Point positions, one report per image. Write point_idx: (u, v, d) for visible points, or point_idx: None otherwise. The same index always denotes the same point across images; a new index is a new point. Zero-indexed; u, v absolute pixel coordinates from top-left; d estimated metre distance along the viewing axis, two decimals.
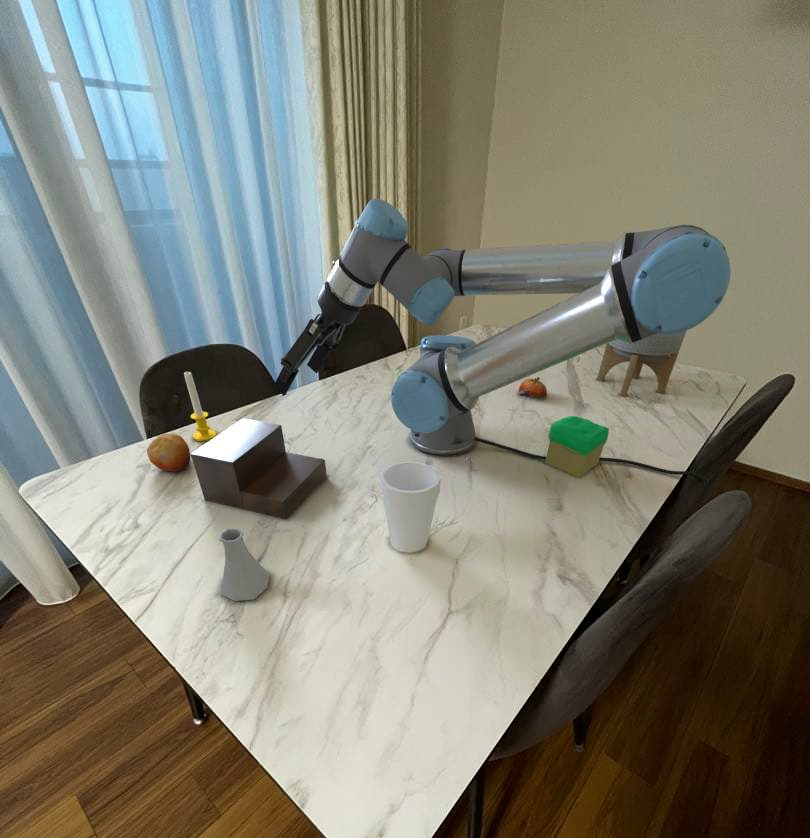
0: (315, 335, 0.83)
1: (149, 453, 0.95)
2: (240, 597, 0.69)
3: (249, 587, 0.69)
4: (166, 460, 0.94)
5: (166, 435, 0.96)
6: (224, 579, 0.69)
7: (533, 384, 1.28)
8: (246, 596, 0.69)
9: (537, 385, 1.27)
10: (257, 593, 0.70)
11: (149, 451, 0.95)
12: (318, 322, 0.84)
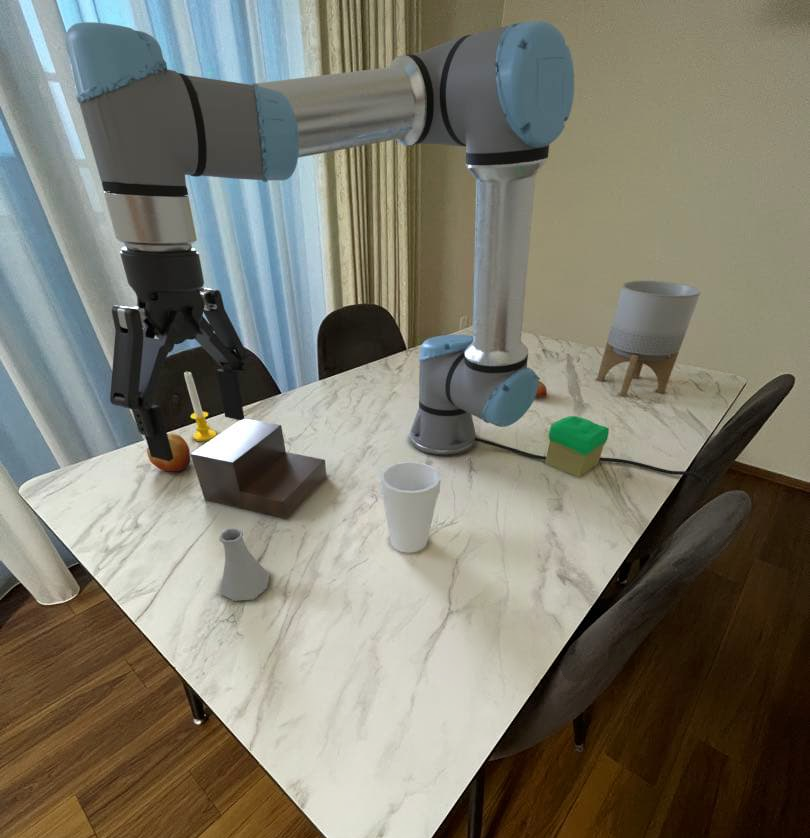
0: (130, 326, 0.47)
1: (149, 453, 0.95)
2: (240, 597, 0.69)
3: (249, 587, 0.69)
4: None
5: None
6: (224, 579, 0.69)
7: None
8: (246, 596, 0.69)
9: None
10: (257, 593, 0.70)
11: (149, 451, 0.95)
12: (133, 307, 0.48)
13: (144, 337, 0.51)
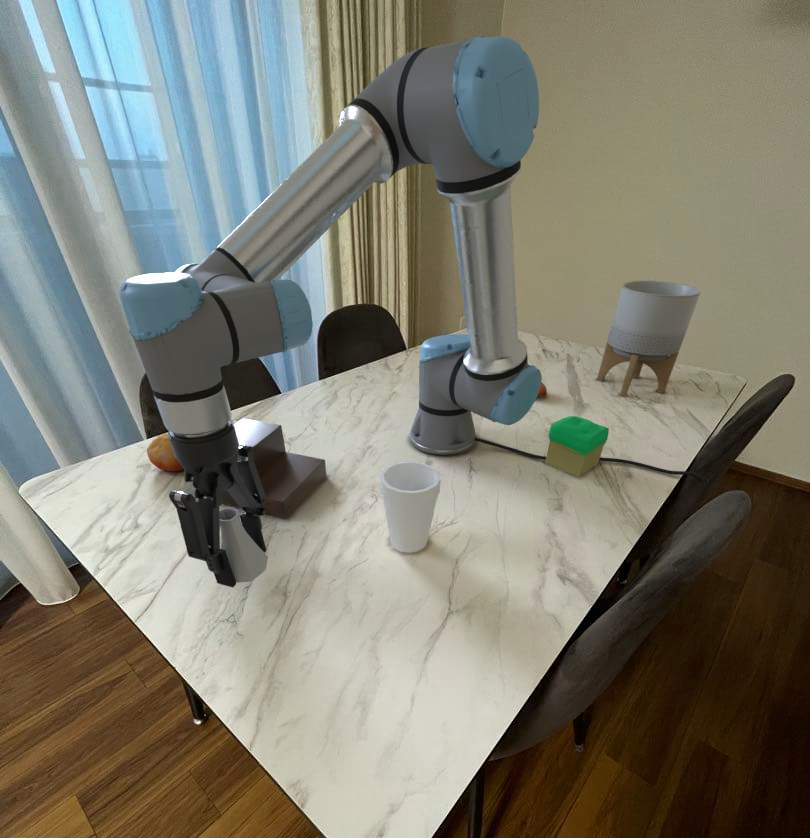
0: (188, 508, 0.55)
1: (149, 453, 0.95)
2: (238, 579, 0.67)
3: (246, 569, 0.67)
4: (166, 460, 0.94)
5: (166, 435, 0.96)
6: None
7: None
8: (244, 578, 0.67)
9: None
10: (255, 575, 0.68)
11: (149, 451, 0.95)
12: (183, 487, 0.56)
13: None
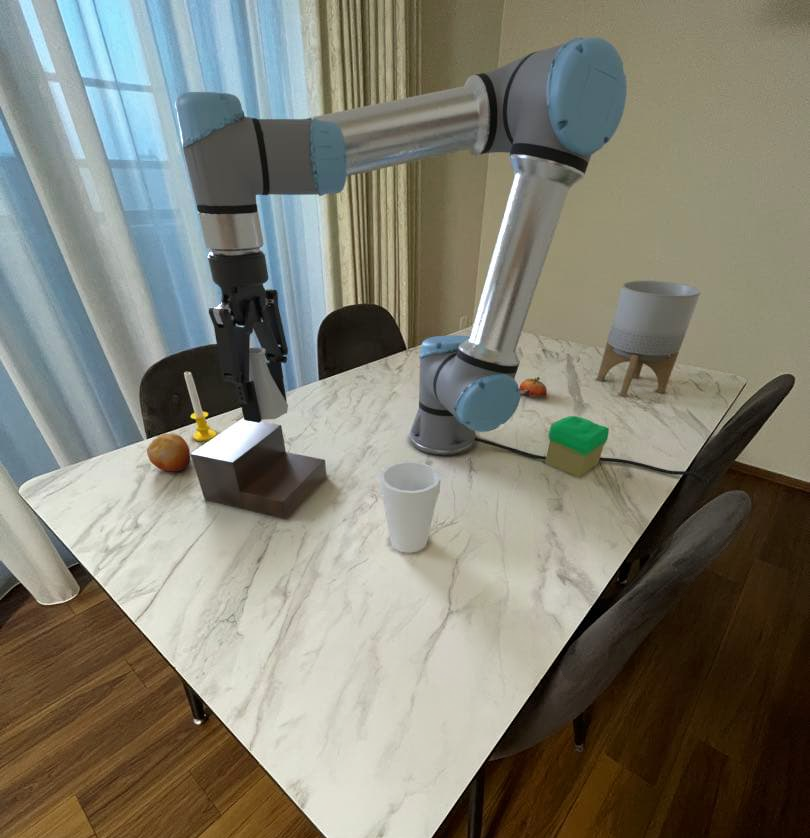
0: (225, 323, 0.63)
1: (149, 453, 0.95)
2: (262, 416, 0.75)
3: (270, 406, 0.75)
4: (166, 460, 0.94)
5: (166, 435, 0.96)
6: None
7: (533, 384, 1.28)
8: (268, 416, 0.75)
9: (537, 385, 1.27)
10: (278, 414, 0.76)
11: (149, 451, 0.95)
12: (221, 305, 0.63)
13: None
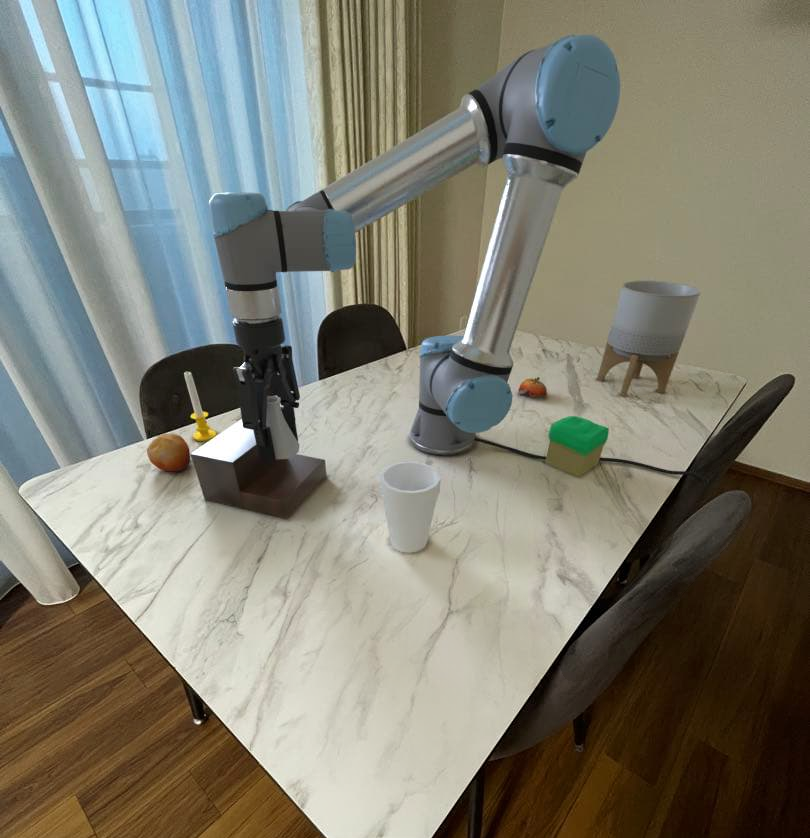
0: (247, 381, 0.72)
1: (149, 453, 0.95)
2: (277, 456, 0.84)
3: (284, 448, 0.84)
4: (166, 460, 0.94)
5: (166, 435, 0.96)
6: None
7: (533, 384, 1.28)
8: (282, 456, 0.84)
9: (537, 385, 1.27)
10: (290, 454, 0.85)
11: (149, 451, 0.95)
12: (243, 365, 0.72)
13: None
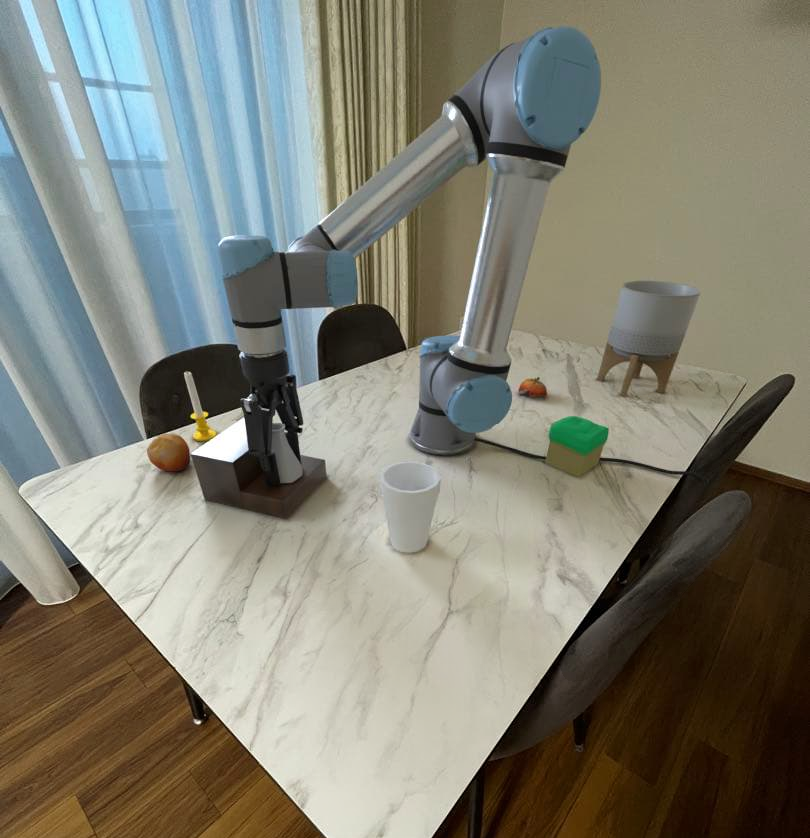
0: (253, 411, 0.75)
1: (149, 453, 0.95)
2: (281, 480, 0.87)
3: (288, 472, 0.87)
4: (166, 460, 0.94)
5: (166, 435, 0.96)
6: None
7: (533, 384, 1.28)
8: (286, 480, 0.87)
9: (537, 385, 1.27)
10: (294, 478, 0.88)
11: (149, 451, 0.95)
12: (250, 396, 0.75)
13: None
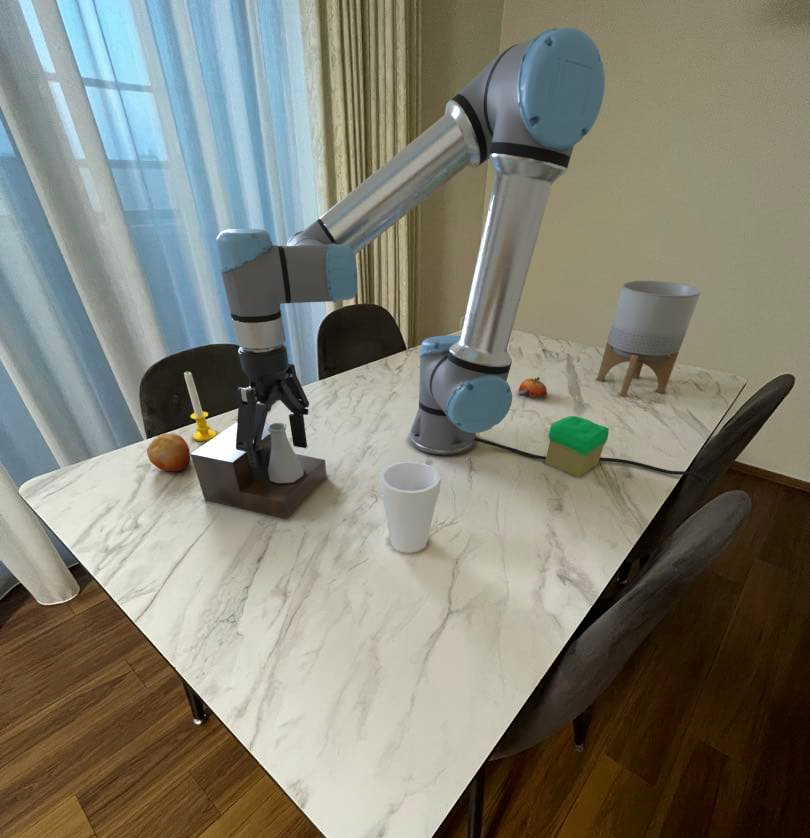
0: (249, 400, 0.74)
1: (149, 453, 0.95)
2: (282, 480, 0.87)
3: (289, 472, 0.87)
4: (166, 460, 0.94)
5: (166, 435, 0.96)
6: (270, 465, 0.87)
7: (533, 384, 1.28)
8: (287, 480, 0.87)
9: (537, 385, 1.27)
10: (295, 478, 0.88)
11: (149, 451, 0.95)
12: (248, 387, 0.74)
13: None
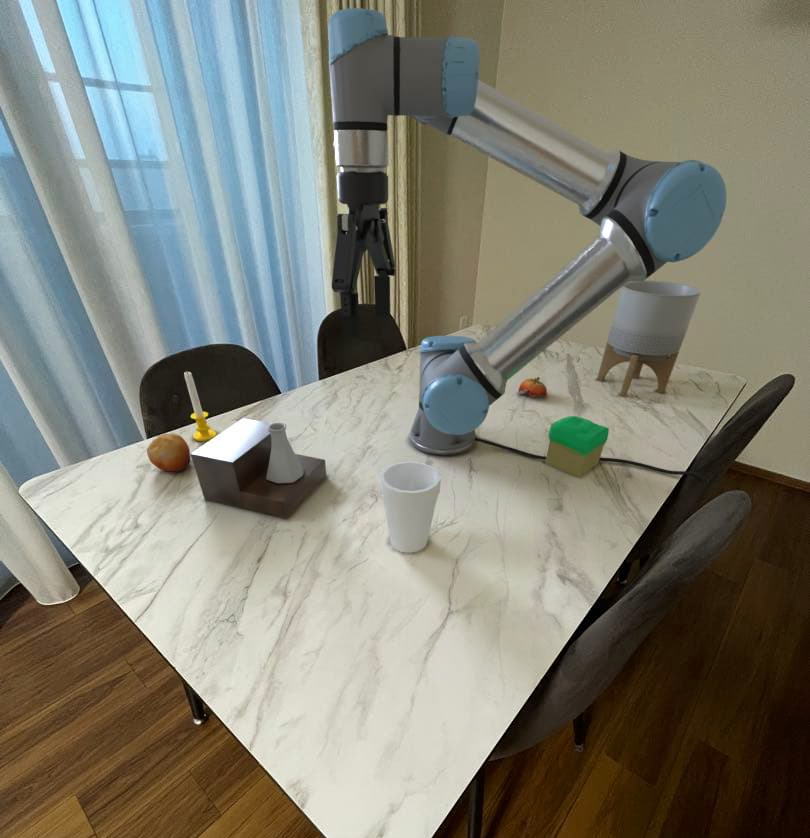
0: (350, 228, 0.67)
1: (149, 453, 0.95)
2: (282, 480, 0.87)
3: (289, 472, 0.87)
4: (166, 460, 0.94)
5: (166, 435, 0.96)
6: (270, 465, 0.87)
7: (533, 384, 1.28)
8: (287, 480, 0.87)
9: (537, 385, 1.27)
10: (295, 478, 0.88)
11: (149, 451, 0.95)
12: None
13: None
